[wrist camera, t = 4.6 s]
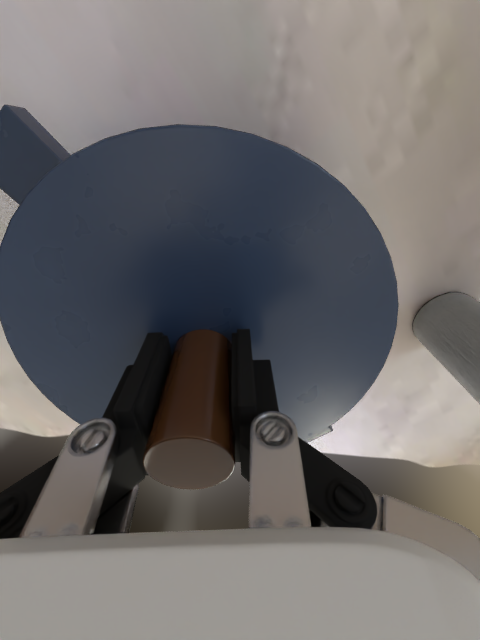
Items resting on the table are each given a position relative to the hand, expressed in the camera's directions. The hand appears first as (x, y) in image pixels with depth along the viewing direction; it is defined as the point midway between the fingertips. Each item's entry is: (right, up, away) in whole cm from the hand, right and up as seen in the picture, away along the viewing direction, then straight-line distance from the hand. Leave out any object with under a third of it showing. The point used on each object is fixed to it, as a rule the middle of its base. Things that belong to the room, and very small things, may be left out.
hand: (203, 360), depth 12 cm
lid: (0, +1, +1) cm, 1 cm away
